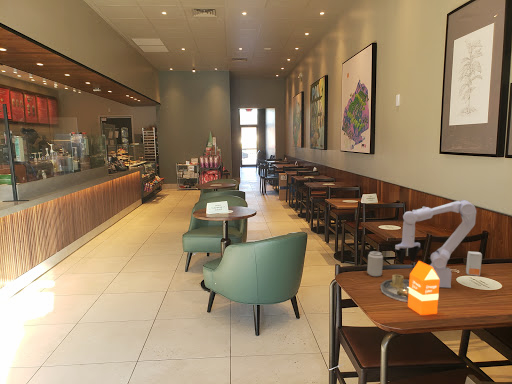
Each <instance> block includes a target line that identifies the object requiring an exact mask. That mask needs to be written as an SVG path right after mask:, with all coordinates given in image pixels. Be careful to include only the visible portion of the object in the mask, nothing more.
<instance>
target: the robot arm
mask: <svg viewBox="0 0 512 384" xmlns="http://www.w3.org/2000/svg"><path fill="white" fill-rule="evenodd" d="M421 207H422V208H418V209H412V211H411V210H409V211H405V212H404V214H403V215H402V218H403V225H402V234H401V235H402V237H401V242H400V243H398V244H395V246H394V247H395V248H394V251H395V253H396V255H397V259H398V260H397V261H398V263H400V264H404V261H405V255H406V252H407V251H406V249H409V253H410V255H409V259H410V261H411V262H413V263H415V261H416V258H417V257H418V253H419V252H420V251H421V243H420V242H419V241H418V242H415V237H416V236H415V235H416V223H417V222H421V221H425V220H428V219H429V220H430V219H432V218H433V216H435V215H440V214H443V213H449V212H453V213H456V214H460V216H461V217H460V218H461V223H460V224H459V225H458V226H457V228H456V229H455V230H454V232H452V234H451V235H450V236H449V237H448V239H447V240H446V241H445V242H444V243H443V245H442V246H441V247H439V248H438V249H437V250H436V251H434V252H432V253H431V254H430V261H431V263H430V264H429V266H432V267H433V269H434V270H435V272H436V274H437V276H438V277H439V279H440V281H439V288H446V289H451V288H452V286H451V285H452V284H451V283H452V270H451V268H450V267H447V264H448V261H449V260H450V257H451V254H452V253H453V252H454V251H455V250H456V249H457V247H458V246H459V245H460V244H461V242H462V241H463V240H464V239H465V238H466V236H467V235H468V234H469V233H470V232H471V230H472V229H473V228H474V226H475V225H476V220H477V219H476V218H477V208H476V206H475V205H474V204H473V203H471V202H470V201H469V200H466V199H461V200H456V201H453V202H449V203H446V204H442V205H439V206H435V207H432V208H431V207H428V206H421Z"/></svg>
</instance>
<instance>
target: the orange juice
mask: <svg viewBox="0 0 512 384" xmlns="http://www.w3.org/2000/svg"><path fill="white" fill-rule="evenodd" d="M409 280H410V281H409V295H408V302H407V307H408V308H409V309H411V310H412V311H414V312H416V313H417V314H419V315H420V316H427V315H436V314H438V304H439V295H440V293H439V290H440V287H439V281H440V279H439V277H438V276H437V274H436V272H435V270H434V269H433V267H432V266H430V264H427V263H425V262H423V261H421V260H418V261H417V263H416V264H415V266H414V268H413V269H412V270H411V271H410V273H409Z"/></svg>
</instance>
